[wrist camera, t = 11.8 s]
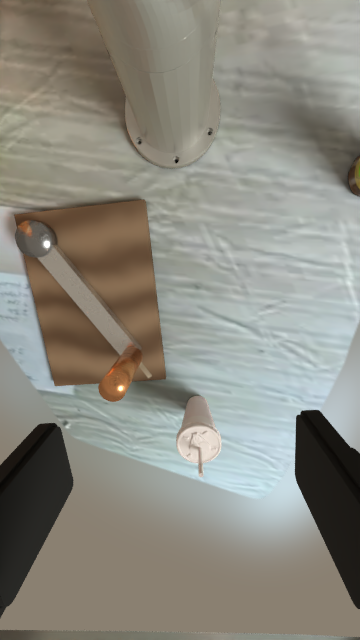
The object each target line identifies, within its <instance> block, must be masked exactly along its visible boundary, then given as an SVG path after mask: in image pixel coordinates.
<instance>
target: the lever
mask: <svg viewBox="0 0 360 640" xmlns="http://www.w3.org/2000/svg"><path fill="white" fill-rule="evenodd" d="M15 239H16V243H17V245H18V247H19V249H20V250H21V251H22V252H23V253H24V254H25V255H27V256H29V257H34V258H38V259H39V260H40V262H41V263H42V264H43V265H44V266H45V268H46V269H47V270H48V271H49V272H50V273H51V275H52V276H53V277H54V278H55V279H56V280H57V282H58V283H59V284H60V285H61V286H62V288H63V289H64V290H65V291H66V292H67V293H68V295H69V296H70V297H71V298H72V299H73V300H74V302H75V303H76V304H77V305H78V306H79V308H80V309H81V310H82V311H83V312H84V313H85V315H86V316H87V317H88V318H89V319H90V321H91V322H92V323H93V324H94V325H95V326H96V328H97V329H98V330H99V331H100V332H101V333H102V335H103V336H104V337H105V338H106V339H107V341H108V342H109V343H110V344H111V345H112V346H113V348H114V349H115V350H116V351H117V352H118V353H119V355H120V357H119V358H118V359H117V361H116V362H115V363H114V365H113V366H112V367H111V369H110V370H109V371H108V373H107V374H106V375H105V377H104V378H103V379H102V381H101V382H100V384H99V393H100V395H101V396H102V397H103V398H104V399H106V400H108V401H112V402H115V401H119V400H121V399H122V398H123V397H124V395H125V393H126V391H127V389H128V387H129V385H130V383H131V381H132V379H133V377H134V375H135V373H136V371H137V369H138V367H139V365H140V363H141V361H142V359H143V355H142V352H141V351H140V350H141V348H142V347H141V346H140V345H139V343H138V342H137V341H136V340H135V338H134V337H133V336H132V335H131V334H130V332H129V331H128V330H127V329H126V328H125V326H124V325H123V324H122V323H121V321H120V320H119V319H118V318H117V317H116V315H115V314H114V313H113V312H112V311H111V309H110V308H109V307H108V306H107V304H106V303H105V302H104V301H103V300H102V298H101V297H100V296H99V295H98V294H97V292H96V291H95V290H94V289H93V287H92V286H91V285H90V284H89V283H88V281H87V280H86V279H85V278H84V277H83V275H82V274H81V273H80V272H79V270H78V269H77V268H76V267H75V266H74V264H73V263H72V262H71V261H70V260H69V258H68V257H67V256H66V255H65V254H64V252H63V251H62V250H61V249H60V247H59V246H58V239H57V236H56V233H55V232H54V230H53V229H52V228H51V227H50V226H49V225H47V224H45V223H41V222H37V221H33V220H27V221H24V222H22V223H21V224H20V225H19V226H18V228H17V230H16V234H15Z"/></svg>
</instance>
